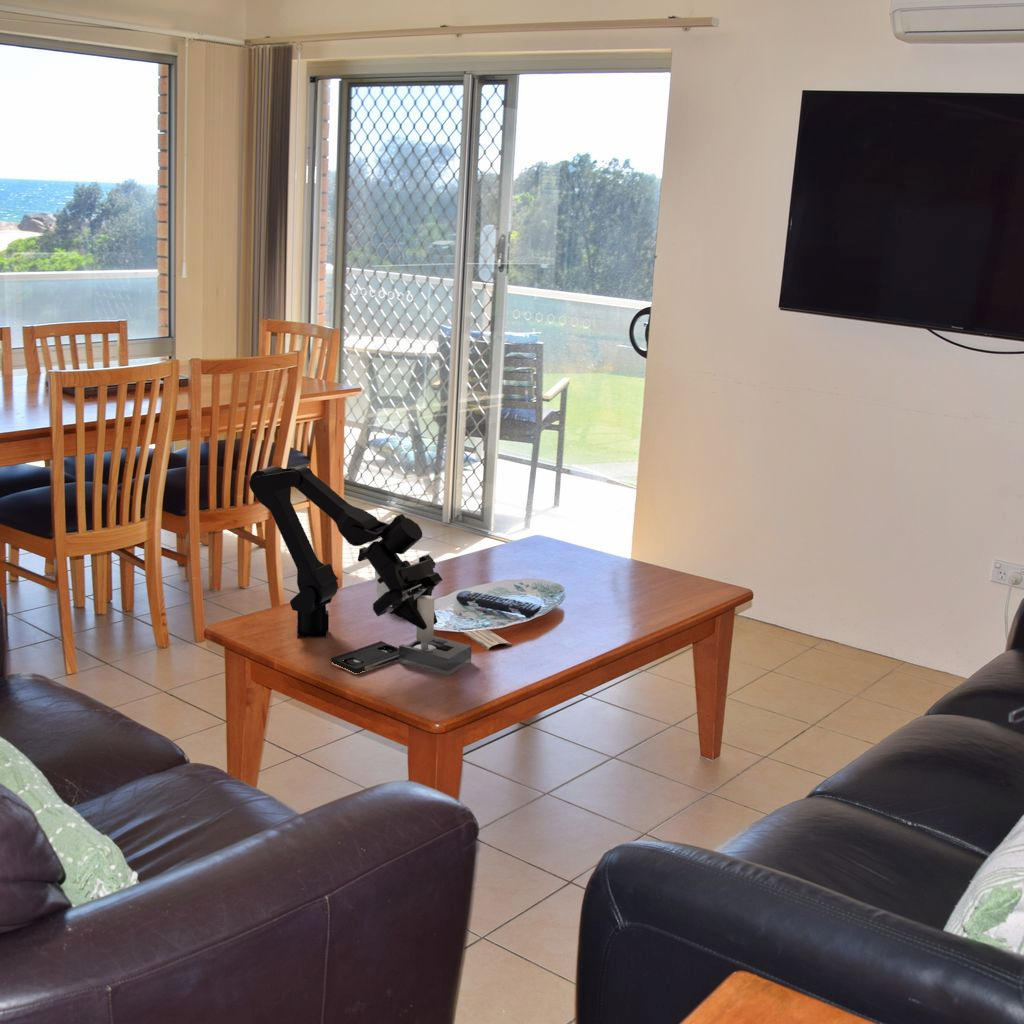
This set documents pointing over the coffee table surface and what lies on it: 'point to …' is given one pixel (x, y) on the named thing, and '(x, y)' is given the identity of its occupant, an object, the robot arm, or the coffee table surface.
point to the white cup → (380, 587)
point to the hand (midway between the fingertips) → (430, 626)
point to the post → (426, 622)
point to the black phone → (367, 657)
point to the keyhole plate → (437, 656)
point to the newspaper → (486, 638)
